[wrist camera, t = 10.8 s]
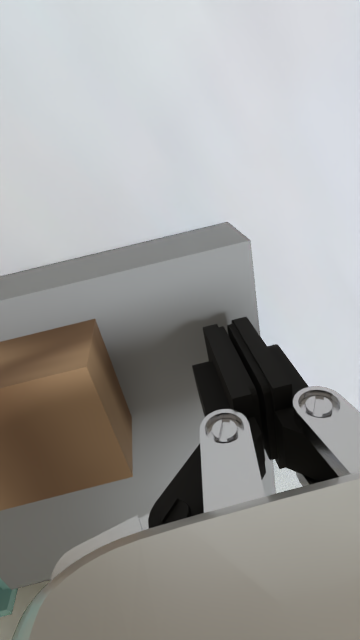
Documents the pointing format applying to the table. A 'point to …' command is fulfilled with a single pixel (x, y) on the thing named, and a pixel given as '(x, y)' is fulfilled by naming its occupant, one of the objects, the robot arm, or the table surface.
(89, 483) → the wooden block
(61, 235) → the table surface
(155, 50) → the table surface
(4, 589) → the tray
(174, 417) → the board
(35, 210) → the table surface
